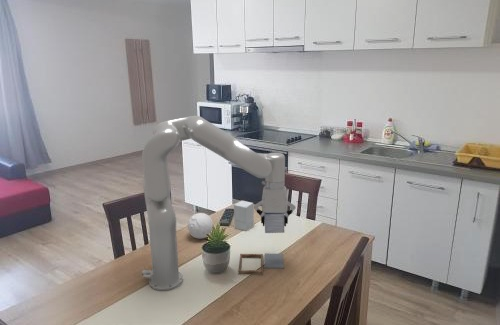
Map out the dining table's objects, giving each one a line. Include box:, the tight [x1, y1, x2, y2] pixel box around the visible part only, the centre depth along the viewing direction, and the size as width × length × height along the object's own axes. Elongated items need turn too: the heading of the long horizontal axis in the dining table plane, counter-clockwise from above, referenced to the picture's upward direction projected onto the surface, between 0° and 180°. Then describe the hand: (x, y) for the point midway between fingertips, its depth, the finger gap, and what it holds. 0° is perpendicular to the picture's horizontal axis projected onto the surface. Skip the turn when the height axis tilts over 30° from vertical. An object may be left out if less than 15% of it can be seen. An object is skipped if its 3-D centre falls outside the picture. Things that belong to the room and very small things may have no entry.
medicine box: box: [264, 213, 285, 234], centre depth 150 cm, size 8×4×9 cm, turn 88°
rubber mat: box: [264, 252, 285, 270], centre depth 155 cm, size 8×11×1 cm
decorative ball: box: [187, 212, 214, 239], centre depth 175 cm, size 12×12×12 cm
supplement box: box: [233, 200, 255, 232], centre depth 186 cm, size 7×7×13 cm
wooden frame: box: [237, 253, 264, 276], centre depth 152 cm, size 10×14×2 cm
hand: (274, 224), depth 150 cm, fingers closed on medicine box, 8 cm apart
